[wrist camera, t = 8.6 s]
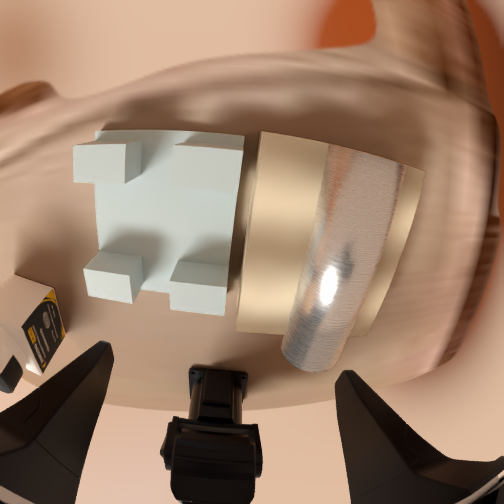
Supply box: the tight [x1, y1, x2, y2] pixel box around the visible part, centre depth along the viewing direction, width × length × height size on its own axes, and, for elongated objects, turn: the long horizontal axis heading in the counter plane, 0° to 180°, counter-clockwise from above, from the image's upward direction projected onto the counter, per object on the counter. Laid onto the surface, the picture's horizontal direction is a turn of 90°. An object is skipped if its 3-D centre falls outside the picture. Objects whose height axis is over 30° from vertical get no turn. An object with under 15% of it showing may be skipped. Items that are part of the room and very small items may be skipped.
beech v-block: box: [236, 131, 426, 336], centre depth 19 cm, size 14×11×4 cm
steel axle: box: [281, 144, 407, 372], centre depth 16 cm, size 14×4×4 cm, turn 172°
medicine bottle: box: [0, 275, 66, 393], centre depth 18 cm, size 7×7×12 cm
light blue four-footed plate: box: [73, 130, 245, 316], centre depth 18 cm, size 13×11×4 cm
